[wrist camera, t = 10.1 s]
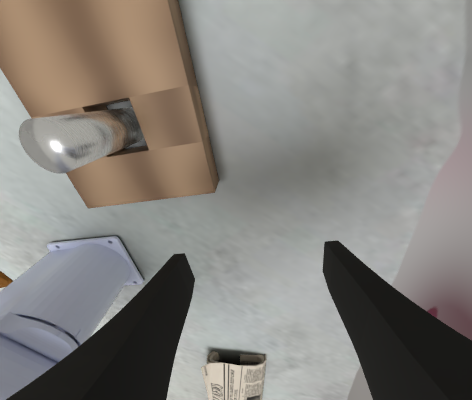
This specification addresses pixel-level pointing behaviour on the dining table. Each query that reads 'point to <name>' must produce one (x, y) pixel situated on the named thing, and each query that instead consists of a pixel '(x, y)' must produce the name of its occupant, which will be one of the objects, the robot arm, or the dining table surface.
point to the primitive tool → (4, 280)
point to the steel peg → (78, 137)
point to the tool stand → (114, 89)
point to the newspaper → (234, 378)
